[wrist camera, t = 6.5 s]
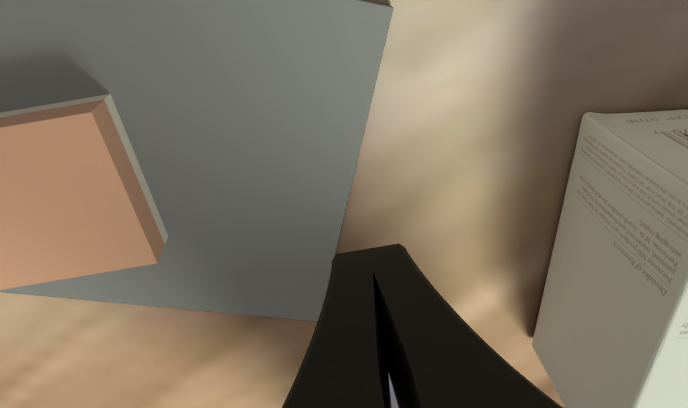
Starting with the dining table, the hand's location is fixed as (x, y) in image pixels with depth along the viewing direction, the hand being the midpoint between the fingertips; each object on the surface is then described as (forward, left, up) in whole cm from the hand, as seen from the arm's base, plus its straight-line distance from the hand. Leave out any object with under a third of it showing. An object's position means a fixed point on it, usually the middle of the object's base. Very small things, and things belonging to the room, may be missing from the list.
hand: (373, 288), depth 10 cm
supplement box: (+3, -13, -6) cm, 14 cm away
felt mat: (-3, +7, -10) cm, 12 cm away
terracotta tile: (-3, +7, -9) cm, 12 cm away
